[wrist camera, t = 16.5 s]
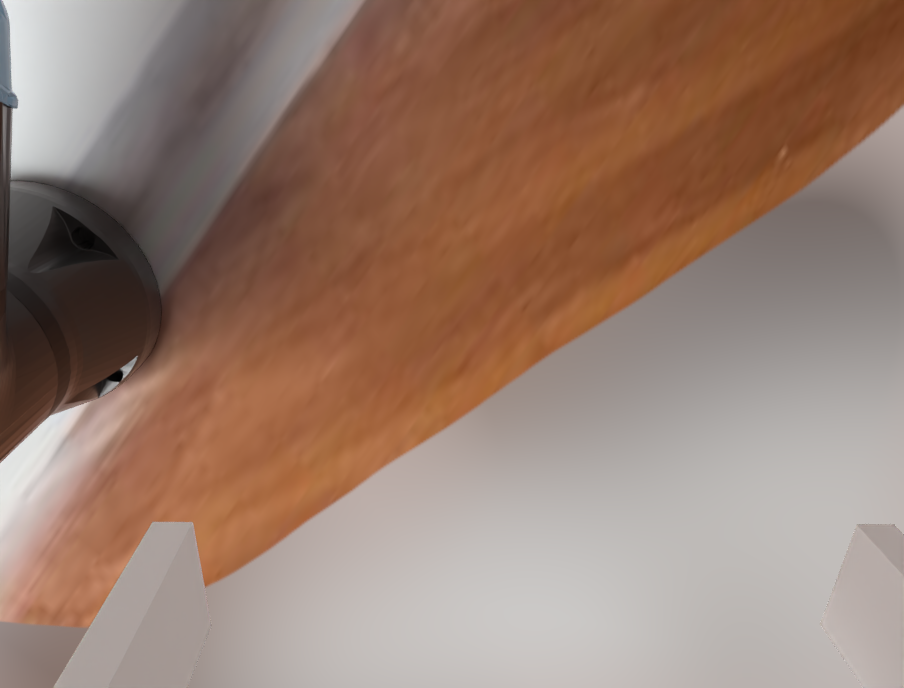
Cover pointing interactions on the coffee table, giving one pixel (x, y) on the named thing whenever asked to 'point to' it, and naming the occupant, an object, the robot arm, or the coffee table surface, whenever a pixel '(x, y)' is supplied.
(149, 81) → the coffee table surface
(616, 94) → the coffee table surface
